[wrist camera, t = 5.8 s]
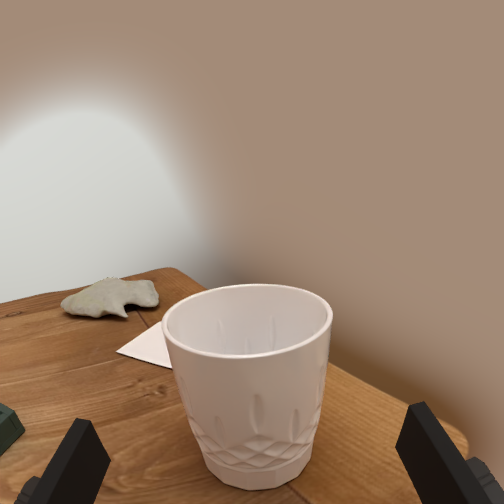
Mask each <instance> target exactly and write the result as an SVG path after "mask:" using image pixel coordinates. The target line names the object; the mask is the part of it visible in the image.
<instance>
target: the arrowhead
mask: <svg viewBox="0 0 504 504" xmlns="http://www.w3.org/2000/svg"><path fill="white" fill-rule="evenodd" d="M158 297H159V295H158V293H157V292H156V290H155V289H154V284H153V282H151V281H149V280H139V281H123V280H121V279H118V278H113V277H112V278H109V277H107V278H106V279H103V280H101V281H98V282H96V283H95V284H93V285H92V286H90V287H88V288H85V289H83V290H82V291H81V292H79V293H77V294H74V295H71V296H68V297H67V298H65V299H64V300H63V301H62V303H61V305H60V306H61V307H62V308H63V309H64V310H65V311H66V312H67V313H71V314H72V315H84V316H92V317H101V316H103V315H107V314H114V315H119V316H121V317H124V318H127V317H128V315H127V314H126V313H125V311H124V307H123V306H124V305H126V304H136V305H139V306H141V307H155V306H157V305H158V303H159V300H158Z"/></svg>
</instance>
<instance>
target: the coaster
mask: <svg viewBox="0 0 504 504" xmlns="http://www.w3.org/2000/svg"><path fill="white" fill-rule="evenodd" d="M161 324H162V322H158V323H157V324H155V325H154V326H152V327H151V328H149V329H148V330H147V331H145V332H144V333H142V334H141V335H139V336H138V337H136V338H135V339H134V340H132V341H131V342H129V343H128V344H126V345H125V346H123V347H122V348H120V349H119V350H118V351H116V352H118V353H121V354H125V355H128V356H131V357H134V358H137V359H141V360H144V361H147V362H151V363H154V364H158V365H161V366H165V367H168V368H172V366H171V362H170V358H169V355H168V351H167V347H166V343H165V339H164V335H163V331H162V326H161Z"/></svg>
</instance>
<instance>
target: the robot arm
mask: <svg viewBox="0 0 504 504" xmlns="http://www.w3.org/2000/svg"><path fill="white" fill-rule="evenodd" d="M395 448H396V450H397V452H398V454H399V456H400V458H401V460H402V462H403V464H404V466H405V468H406V470H407V472H408V474H409V477H410V479H411V481H412V483H413V485H414V487H415V489H416V491H417V493H418V495H419V497H420V500H421V502H422V504H504V491H503V489H502V488H501V487H500V485H499V483H498V482H497V481H496V480H495V478H494V476H493V475H492V474H491V473H490V470H489V469H488V467H487V466H486V465H485V463H484V462H482V461H481V460H479V459H478V458H476V457H473V458H471V459H469V460H466V461H465V460H464V458H463V457H462V455H461V454H460V452H459V451H458V449H457V448H456V446H455V445H454V443H453V442H452V440H451V439H450V437H449V436H448V434H447V433H446V432H445V430H444V429H443V427H442V426H441V424H440V423H439V421H438V420H437V419H436V417H435V416H434V414H433V413H432V412H431V410H430V409H429V407H428V406H427V405H426V403H425V402H424V401H423V402H420V403H416V404H413V405H409V407H408V410H407V413H406V417H405V420H404V423H403V426H402V429H401V432H400V435H399V438H398V441H397V443H396V446H395ZM110 462H111V459H110V458H109V456H108V454H107V452H106V450H105V448H104V447H103V445H102V443H101V441H100V439H99V437H98V435H97V433H96V431H95V429H94V427H93V425H92V423H91V421H90V420H84V419H79V418H76V419H75V421H74V422H73V424H72V426H71V427H70V429H69V431H68V432H67V434H66V435H65V437H64V439H63V440H62V442H61V444H60V445H59V447H58V449H57V451H56V452H55V454H54V456H53V457H52V459H51V461H50V463H49V464H48V466H47V468H46V470H45V471H44V473H43V475H42V477H41V478H38V477H35V476H33V477H32V478H31V479H29V480H28V481H27V482H26V483H25V485H24V486H23V488H22V490H21V493H19V495H18V497H17V500H15V502H14V504H94V501H95V499H96V496H97V494H98V491H99V489H100V486H101V484H102V481H103V479H104V476H105V474H106V471H107V469H108V466H109V464H110Z"/></svg>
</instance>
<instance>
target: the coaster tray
mask: <svg viewBox="0 0 504 504" xmlns="http://www.w3.org/2000/svg"><path fill="white" fill-rule="evenodd" d="M24 431H25V429H24V427H23V425H22V424H21V422H20V420H19V418H18V416H17V415H16V413H15V411H14V410H12V409H10V408H9V407H7V406H5V405H3V404H2V403H0V455H1V454H2V453H3V452H4V451H5V450H6V449H7V448H8V447H9V446H10V445H11V444H12V443H13V442H14V441H15V440H16V439H17V438H18V437H19V436H20V435H21V434H22V433H23V432H24Z"/></svg>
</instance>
